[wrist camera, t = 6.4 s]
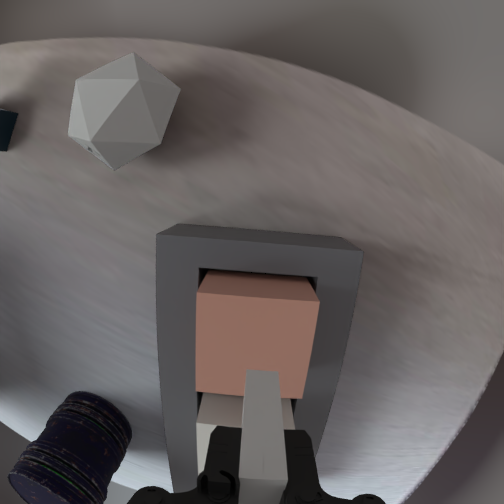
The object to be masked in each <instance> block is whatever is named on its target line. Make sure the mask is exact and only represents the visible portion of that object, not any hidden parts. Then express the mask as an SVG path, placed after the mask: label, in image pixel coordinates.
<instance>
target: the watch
mask: <svg viewBox="0 0 504 504" xmlns="http://www.w3.org/2000/svg"><path fill="white" fill-rule="evenodd" d="M17 117H18V113H14V112H11V111H7V110H4V109H0V151H7V149H8V145H9V142H10V138H11V135H12V132H13V129H14V126H15V123H16V120H17Z"/></svg>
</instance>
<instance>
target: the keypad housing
mask: <svg viewBox="0 0 504 504" xmlns="http://www.w3.org/2000/svg"><path fill="white" fill-rule="evenodd" d="M363 253H364V251H362V250H361V249H359V248H357V247H356V246H354V245H353V244H351V243H349V242H348V241H346V240H344V239H343V238H341V237H331V236H321V235H310V234H299V233H288V232H276V231H265V230H252V229H240V228H227V227H214V226H201V225H187V224H176V225H174V226H172V227H170V228H168V229H166V230H164V231H162V232H160V233H158V234H157V237H156V315H157V342H158V360H159V375H160V388H161V400H162V410H163V420H164V429H165V437H166V445H167V452H168V460H169V466H170V473H171V479H172V485H173V491H174V493H180V492H187V491H190V490H192V489H194V488H196V487H197V478H198V459H197V432H196V422H197V417H198V413H199V409H200V405H201V401H202V396H203V392H198V391H196V297H197V291H198V289H199V287H200V285H201V283H202V281H203V280H204V278H205V276H206V274H207V272H208V270H210V268H211V269H223V270H235V271H247V272H259V273H272V274H285V275H299V276H302V277H307V279H308V281H309V283H310V285H311V286H312V288H313V290H314V292H315V294H316V295H317V297H318V299H319V301H320V304H319V311H318V317H317V323H316V329H315V334H314V340H313V346H312V351H311V356H310V362H309V367H308V372H307V377H306V382H305V387H304V392H303V396H302V399H297V398H290V400H291V406H292V413H293V419H294V426H295V430H305V431H306V432H307V433H308V435H309V436H310V437H311V440H312V446H313V451H314V457H316V454H317V451H318V447H319V444H320V441H321V438H322V435H323V432H324V428H325V425H326V422H327V418H328V415H329V412H330V408H331V405H332V401H333V397H334V394H335V390H336V386H337V382H338V378H339V375H340V371H341V366H342V362H343V358H344V354H345V350H346V345H347V341H348V336H349V331H350V327H351V322H352V317H353V312H354V307H355V301H356V296H357V290H358V285H359V279H360V273H361V266H362V260H363Z"/></svg>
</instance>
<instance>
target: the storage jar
mask: <svg viewBox="0 0 504 504" xmlns="http://www.w3.org/2000/svg"><path fill="white" fill-rule="evenodd" d="M131 438H132V430H131V427H130V424H129V422H128V421H127V419H126V418H125V416H124V415H123V414H122V413H121V412H120V411H119V410H118V409H117V408H116V407H115V406H114V405H113V404H111V403H110V402H108V401H107V400H105V399H103V398H102V397H100V396H97V395H95V394H92V393H88V392H80V391H79V392H74V393H71V394H70V395H69V396H68V397H67V398H66V399H65V401H64V402H63V403H62V404H61V405H60V406H58V408H57V409H56V410H55V411H54V413H53V414H52V415H51V416H50V418H49V420H48V421H47V424H46V428H45V429H44V431H43V432H42V433H41V435H40V436H39V437H38V438H37V440H35V441H33V442H31V444H29V445H28V446H27V448H26V450H25V451H24V452H23V453H22V454H21V456H20V457H19V459H18V462H17V463H16V464H15V466H14V469H12V470H11V471H10V473H9V474H8V481H9V483H10V484H11V486H12V488H13V489H14V490H15V491H16V493H17V494H18V495H19V496H20V497H21V498H22V499H23V500H24V501H25V502H26V503H28V504H103V502H104V501H105V500H106V498H107V487H108V485H109V483H110V480H111V478H112V476H113V474H114V473H115V472H116V471H117V470H118V468H119V466H120V464H121V462H122V460H123V458H124V456H125V454H126V449H127V447H128V444H129V443H130V440H131Z"/></svg>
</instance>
